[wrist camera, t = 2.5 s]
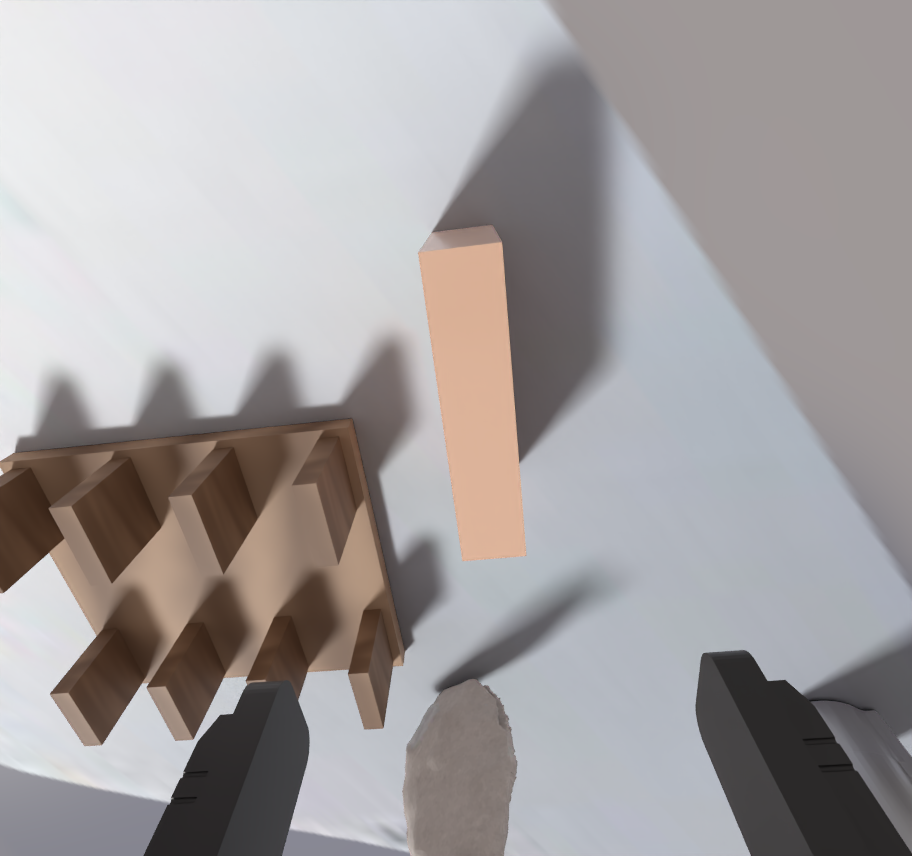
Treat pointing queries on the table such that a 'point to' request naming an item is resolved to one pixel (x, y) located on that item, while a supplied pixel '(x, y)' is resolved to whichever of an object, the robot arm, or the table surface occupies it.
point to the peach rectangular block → (475, 387)
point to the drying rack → (207, 567)
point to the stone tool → (460, 775)
